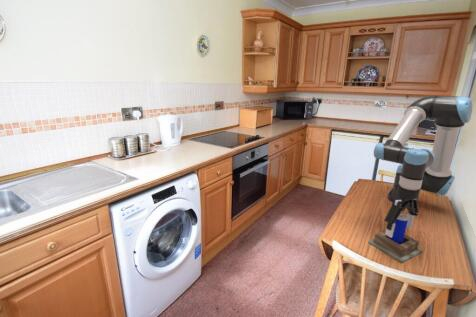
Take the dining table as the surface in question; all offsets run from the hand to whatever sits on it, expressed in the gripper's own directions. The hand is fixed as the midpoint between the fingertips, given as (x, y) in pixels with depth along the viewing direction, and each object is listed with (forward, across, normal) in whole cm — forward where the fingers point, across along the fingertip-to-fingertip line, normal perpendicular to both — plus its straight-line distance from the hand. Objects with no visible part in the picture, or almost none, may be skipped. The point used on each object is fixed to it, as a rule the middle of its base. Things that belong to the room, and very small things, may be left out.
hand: (398, 231), depth 108 cm
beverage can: (+7, 0, 0) cm, 7 cm away
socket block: (+8, 0, 0) cm, 8 cm away
